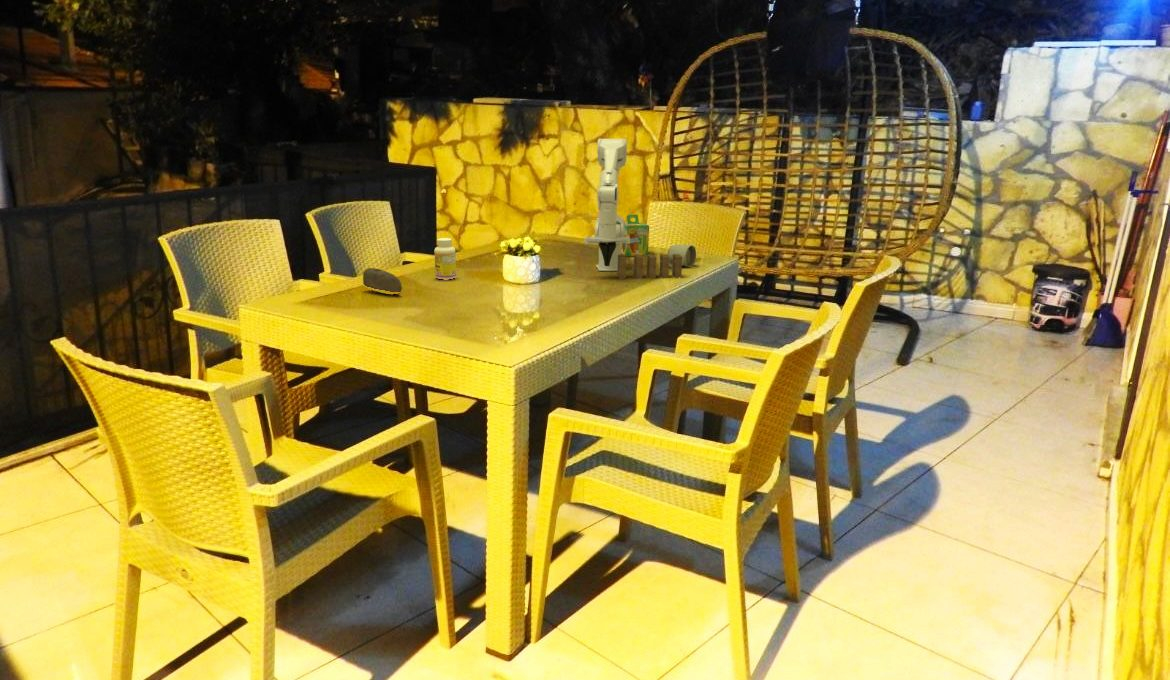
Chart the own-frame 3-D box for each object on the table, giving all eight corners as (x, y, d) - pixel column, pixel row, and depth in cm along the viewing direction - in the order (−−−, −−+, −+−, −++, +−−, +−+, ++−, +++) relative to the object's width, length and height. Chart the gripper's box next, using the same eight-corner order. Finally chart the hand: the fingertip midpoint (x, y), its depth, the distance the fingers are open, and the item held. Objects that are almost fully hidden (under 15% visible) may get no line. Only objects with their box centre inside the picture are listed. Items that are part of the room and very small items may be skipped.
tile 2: (633, 275, 281) (633, 254, 279) (639, 275, 281) (640, 254, 279) (635, 278, 276) (636, 257, 274) (642, 278, 276) (643, 257, 274)
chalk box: (626, 257, 313) (627, 217, 309) (616, 253, 321) (617, 214, 317) (649, 255, 317) (650, 216, 313) (638, 251, 325) (639, 213, 321)
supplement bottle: (434, 277, 275) (432, 237, 272) (454, 276, 277) (453, 237, 274) (437, 281, 269) (435, 241, 266) (458, 280, 271) (456, 240, 268)
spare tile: (616, 275, 280) (617, 254, 278) (623, 275, 280) (623, 254, 278) (619, 278, 275) (619, 257, 273) (625, 278, 276) (626, 257, 274)
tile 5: (671, 274, 282) (672, 254, 280) (678, 274, 282) (678, 253, 280) (674, 277, 277) (675, 256, 275) (681, 277, 278) (682, 256, 276)
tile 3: (646, 275, 281) (646, 254, 279) (652, 275, 281) (653, 254, 279) (648, 278, 276) (649, 257, 274) (655, 278, 277) (656, 257, 275)
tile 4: (658, 275, 282) (659, 254, 280) (665, 275, 282) (666, 254, 280) (661, 278, 277) (662, 256, 275) (668, 278, 277) (669, 256, 275)
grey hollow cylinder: (676, 262, 303) (676, 241, 301) (696, 265, 299) (697, 243, 296) (660, 267, 295) (661, 245, 293) (681, 270, 290) (682, 248, 288)
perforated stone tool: (408, 295, 249) (406, 272, 248) (393, 298, 245) (392, 275, 244) (376, 288, 259) (374, 266, 257) (361, 291, 255) (360, 268, 253)
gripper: (586, 225, 268) (586, 268, 271) (631, 225, 269) (631, 267, 273) (583, 222, 274) (583, 264, 278) (628, 222, 276) (627, 263, 280)
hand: (606, 265), depth 276 cm, fingers closed
